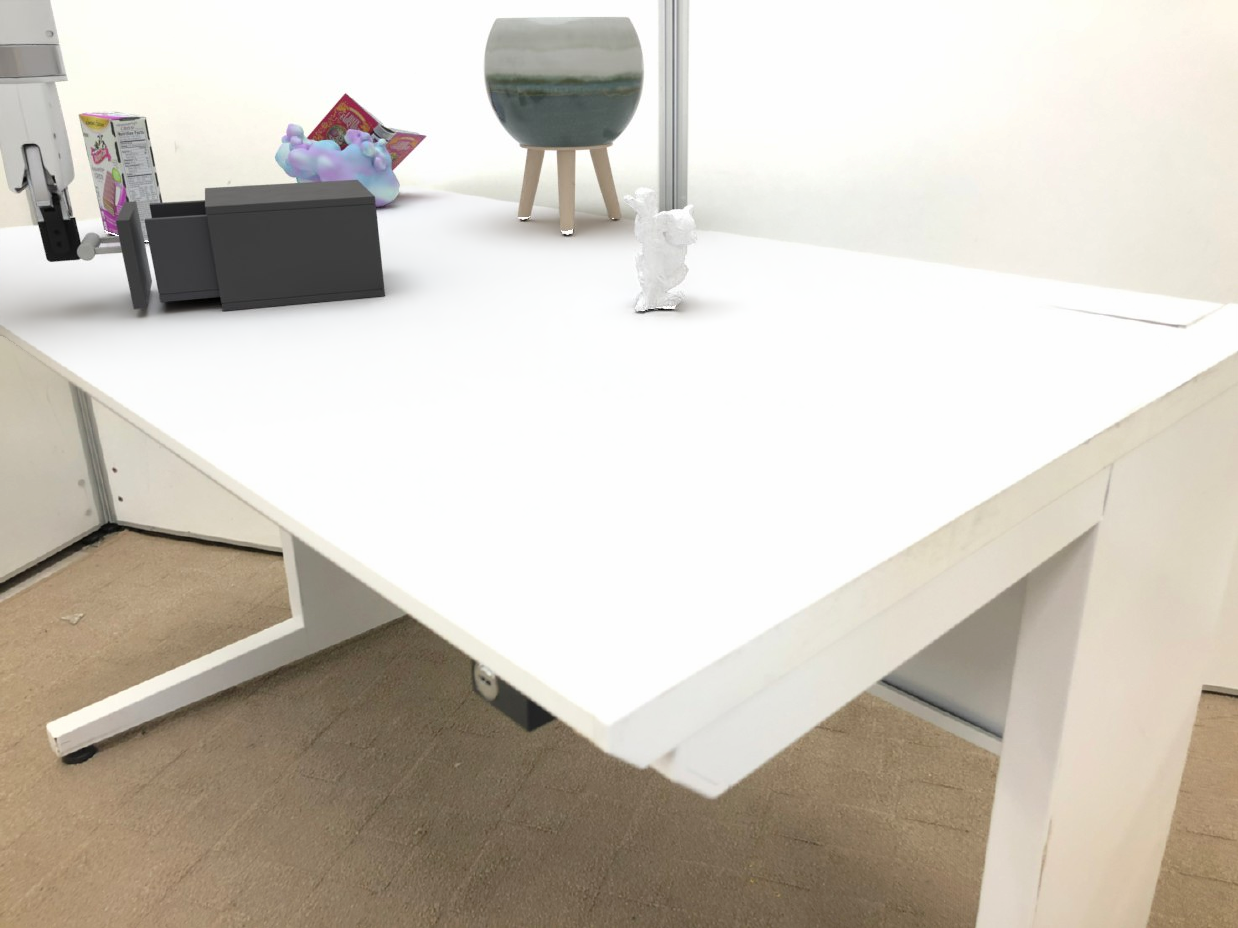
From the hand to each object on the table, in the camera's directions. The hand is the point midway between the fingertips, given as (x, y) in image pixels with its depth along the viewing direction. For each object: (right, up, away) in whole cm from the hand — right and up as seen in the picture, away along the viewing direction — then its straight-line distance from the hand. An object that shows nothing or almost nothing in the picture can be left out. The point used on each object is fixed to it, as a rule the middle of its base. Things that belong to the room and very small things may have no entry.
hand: (65, 258), depth 102 cm
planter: (+49, +14, +45) cm, 68 cm away
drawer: (+11, -2, +6) cm, 12 cm away
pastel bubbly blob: (+12, +22, +64) cm, 69 cm away
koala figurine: (+61, -5, +2) cm, 61 cm away
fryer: (+21, -1, +9) cm, 23 cm away
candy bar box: (-11, +11, +39) cm, 42 cm away
